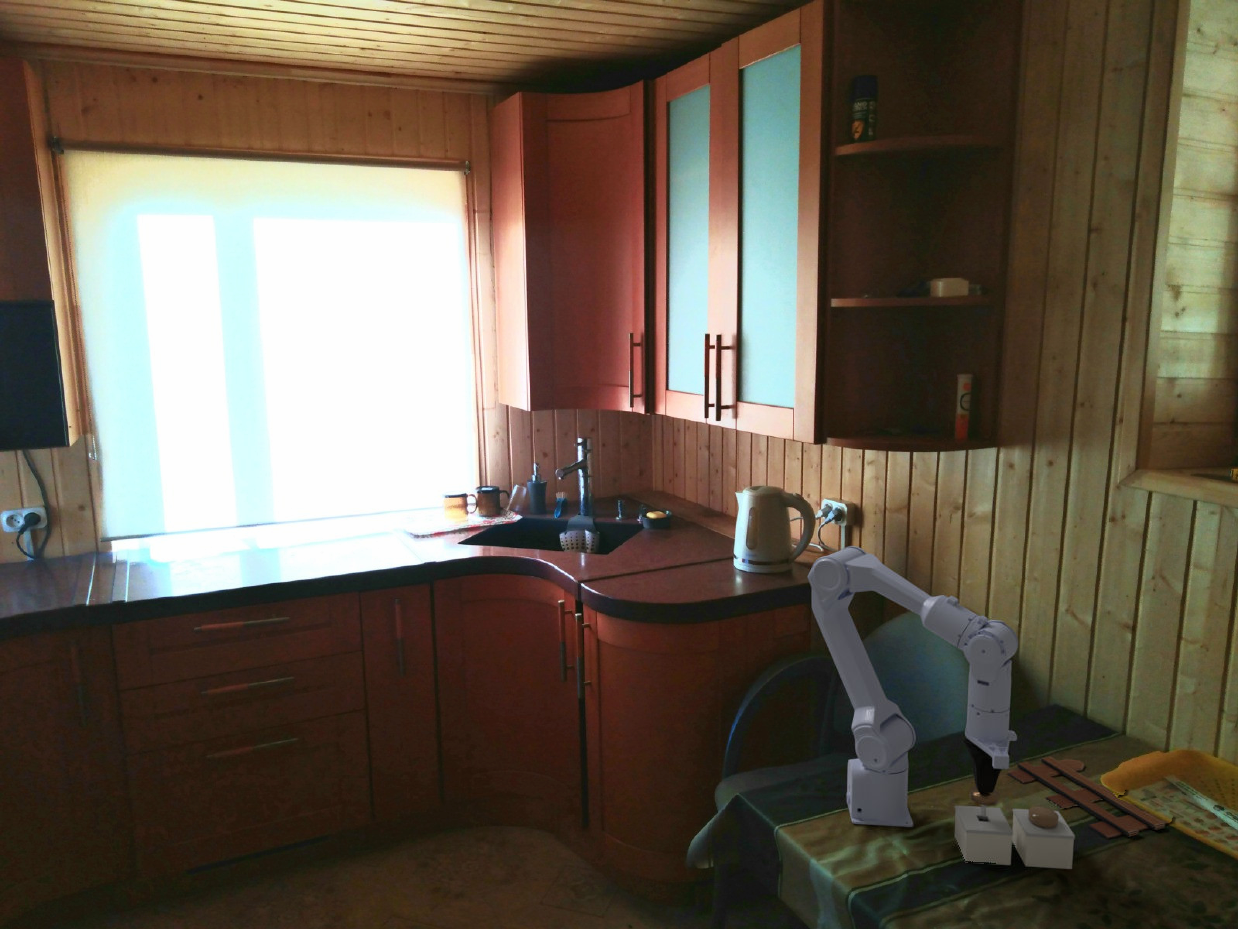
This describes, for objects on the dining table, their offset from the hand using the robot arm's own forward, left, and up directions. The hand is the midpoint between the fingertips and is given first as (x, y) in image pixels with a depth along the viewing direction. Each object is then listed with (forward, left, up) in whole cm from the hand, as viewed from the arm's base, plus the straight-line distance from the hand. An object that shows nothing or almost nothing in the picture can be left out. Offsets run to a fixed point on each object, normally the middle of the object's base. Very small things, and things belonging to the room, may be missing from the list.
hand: (984, 790), depth 128 cm
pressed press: (+8, 0, -10) cm, 13 cm away
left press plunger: (0, 0, -6) cm, 6 cm away
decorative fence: (+22, +18, -11) cm, 30 cm away
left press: (0, 0, -10) cm, 10 cm away
